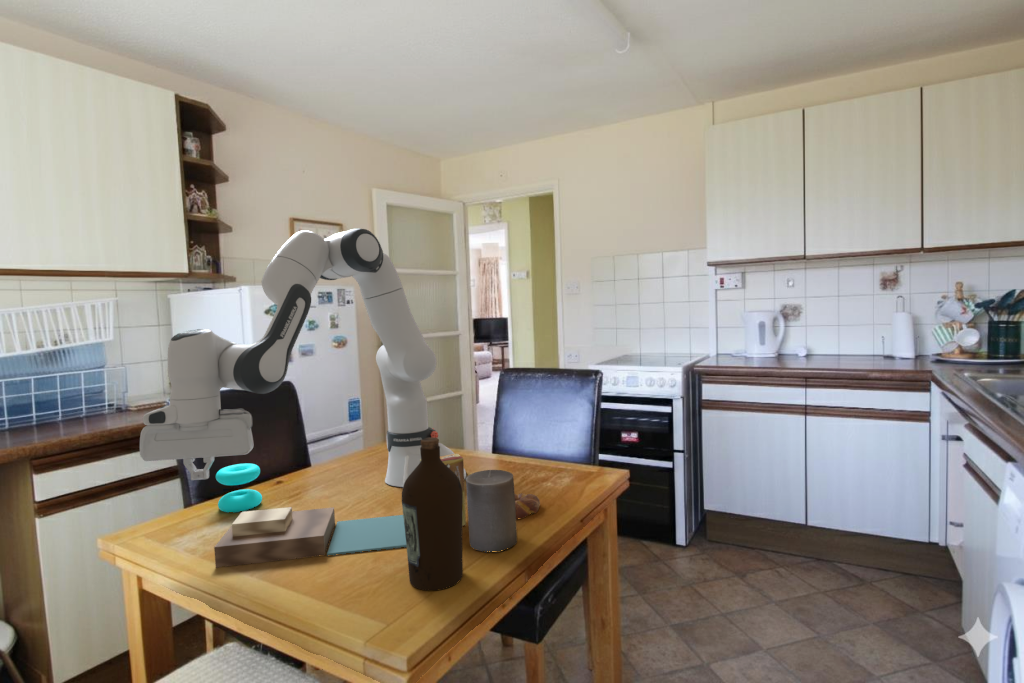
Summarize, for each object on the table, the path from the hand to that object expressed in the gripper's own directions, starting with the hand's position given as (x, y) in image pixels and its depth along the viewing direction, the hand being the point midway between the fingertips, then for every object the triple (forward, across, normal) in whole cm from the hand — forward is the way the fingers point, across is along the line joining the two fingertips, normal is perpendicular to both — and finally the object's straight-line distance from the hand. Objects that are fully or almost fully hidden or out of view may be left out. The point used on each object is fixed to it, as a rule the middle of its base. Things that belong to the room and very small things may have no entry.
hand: (200, 479), depth 114 cm
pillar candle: (+15, -58, +11) cm, 60 cm away
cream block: (+11, -11, 0) cm, 16 cm away
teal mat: (+15, -33, 0) cm, 36 cm away
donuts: (+15, +1, -27) cm, 31 cm away
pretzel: (+15, -65, -6) cm, 67 cm away
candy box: (+15, -48, 0) cm, 51 cm away
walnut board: (+15, -14, 0) cm, 21 cm away
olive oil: (+15, -46, +23) cm, 53 cm away
